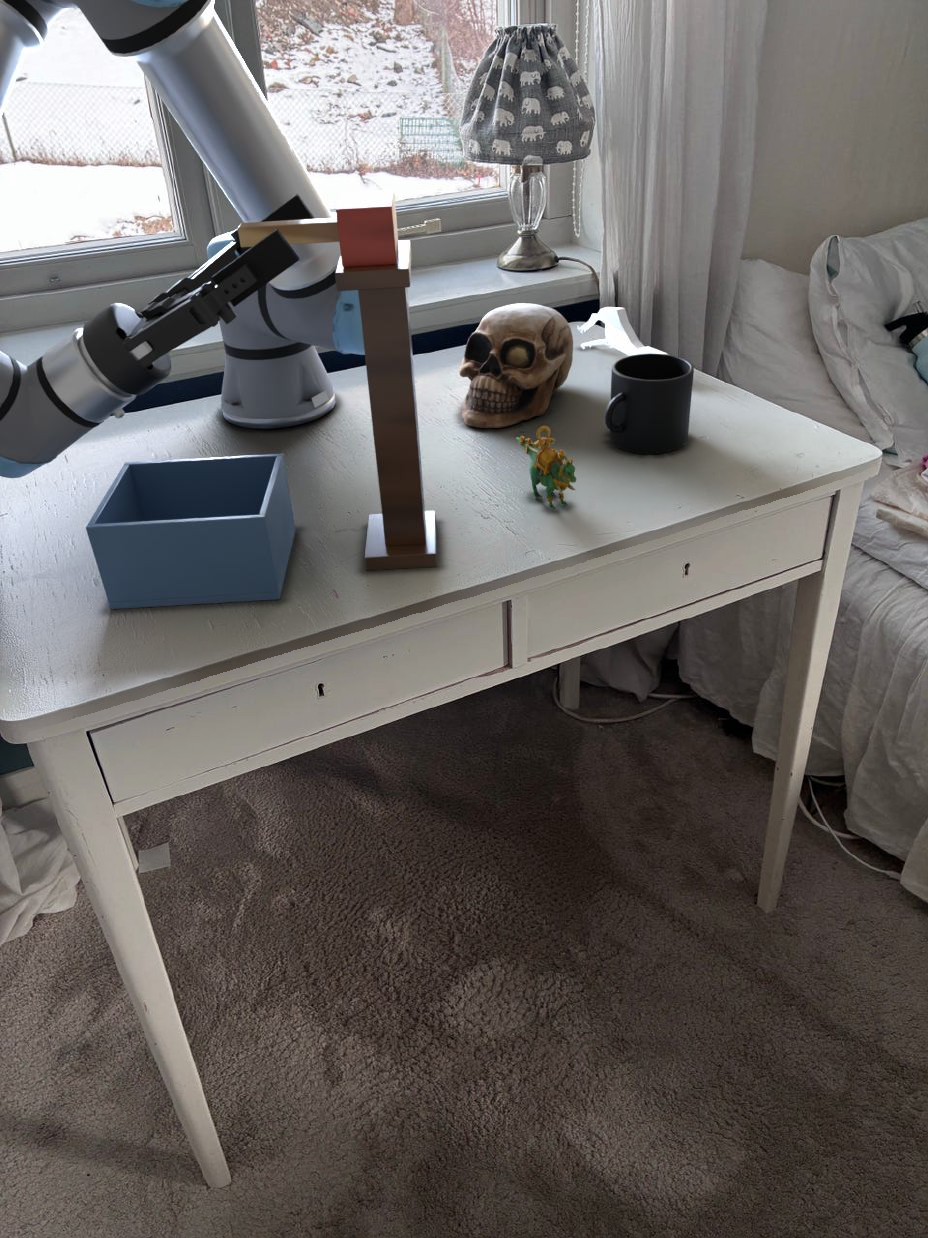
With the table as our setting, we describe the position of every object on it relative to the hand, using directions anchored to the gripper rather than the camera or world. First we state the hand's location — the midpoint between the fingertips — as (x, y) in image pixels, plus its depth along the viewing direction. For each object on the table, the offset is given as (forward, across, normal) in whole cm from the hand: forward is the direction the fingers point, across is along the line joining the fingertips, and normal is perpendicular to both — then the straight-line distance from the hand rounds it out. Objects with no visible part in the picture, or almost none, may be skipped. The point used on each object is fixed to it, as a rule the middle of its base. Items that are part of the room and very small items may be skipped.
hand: (298, 224), depth 80 cm
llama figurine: (+16, -50, -46) cm, 70 cm away
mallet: (0, 0, -3) cm, 3 cm away
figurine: (+3, -9, -38) cm, 39 cm away
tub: (-27, +2, -20) cm, 34 cm away
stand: (-10, 0, -30) cm, 32 cm away
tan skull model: (+2, -37, -38) cm, 53 cm away
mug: (+14, -22, -45) cm, 52 cm away
